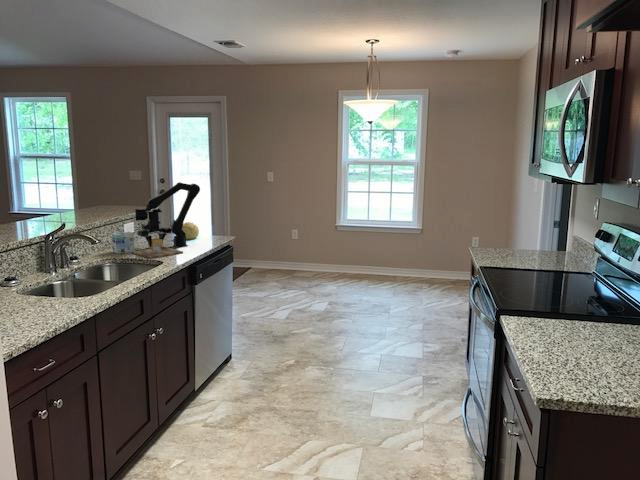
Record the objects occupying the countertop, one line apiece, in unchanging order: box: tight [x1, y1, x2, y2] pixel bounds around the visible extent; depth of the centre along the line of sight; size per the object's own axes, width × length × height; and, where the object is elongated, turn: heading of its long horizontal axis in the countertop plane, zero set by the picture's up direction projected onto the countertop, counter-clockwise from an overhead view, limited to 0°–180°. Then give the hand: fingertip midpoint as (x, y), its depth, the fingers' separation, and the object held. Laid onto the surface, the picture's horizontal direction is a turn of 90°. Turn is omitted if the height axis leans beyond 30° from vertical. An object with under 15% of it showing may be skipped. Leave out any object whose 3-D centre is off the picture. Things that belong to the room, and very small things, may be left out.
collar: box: [147, 237, 164, 249], centre depth 301 cm, size 6×6×5 cm
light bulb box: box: [111, 231, 136, 254], centre depth 290 cm, size 11×7×11 cm, turn 129°
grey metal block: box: [153, 246, 161, 254], centre depth 283 cm, size 3×3×4 cm
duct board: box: [131, 246, 184, 260], centre depth 287 cm, size 20×20×1 cm
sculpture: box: [182, 221, 200, 240], centre depth 331 cm, size 12×12×11 cm
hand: (155, 246), depth 302 cm, fingers closed on collar, 6 cm apart
